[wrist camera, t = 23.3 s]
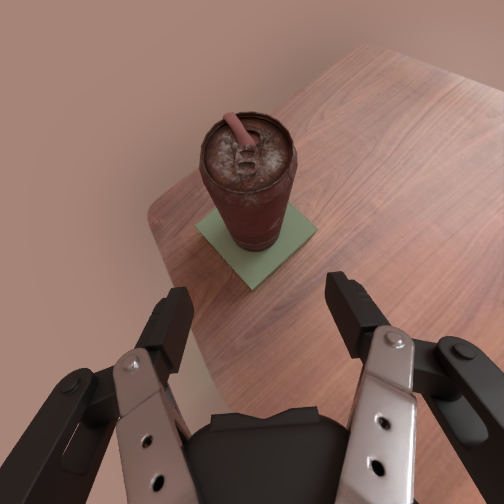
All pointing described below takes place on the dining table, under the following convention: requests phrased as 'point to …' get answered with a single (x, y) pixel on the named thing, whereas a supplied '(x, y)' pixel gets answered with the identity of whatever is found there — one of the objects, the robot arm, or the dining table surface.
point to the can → (249, 175)
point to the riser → (264, 262)
